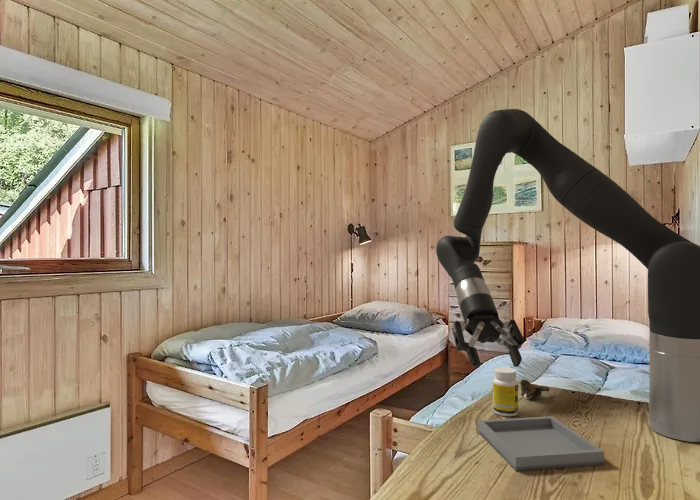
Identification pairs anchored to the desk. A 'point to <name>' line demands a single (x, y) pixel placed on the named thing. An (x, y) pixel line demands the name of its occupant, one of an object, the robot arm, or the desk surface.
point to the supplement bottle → (505, 392)
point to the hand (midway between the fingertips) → (497, 365)
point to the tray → (539, 443)
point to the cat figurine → (531, 389)
